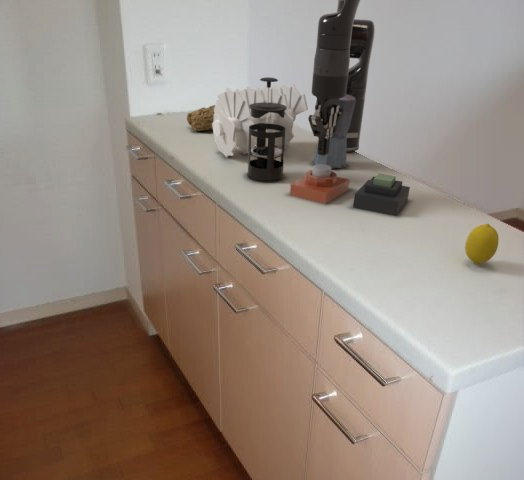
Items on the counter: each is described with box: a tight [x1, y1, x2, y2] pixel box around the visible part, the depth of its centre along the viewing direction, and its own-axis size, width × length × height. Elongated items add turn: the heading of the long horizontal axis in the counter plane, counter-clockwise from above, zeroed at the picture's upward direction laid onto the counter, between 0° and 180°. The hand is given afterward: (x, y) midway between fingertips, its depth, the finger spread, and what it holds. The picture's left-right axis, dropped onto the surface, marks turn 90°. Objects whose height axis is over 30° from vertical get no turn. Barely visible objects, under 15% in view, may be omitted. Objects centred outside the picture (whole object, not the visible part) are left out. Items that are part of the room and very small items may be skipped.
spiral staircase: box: [212, 83, 309, 159], centre depth 154 cm, size 18×18×25 cm
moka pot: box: [313, 94, 356, 169], centre depth 145 cm, size 10×15×20 cm, turn 161°
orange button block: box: [289, 169, 350, 205], centre depth 131 cm, size 12×10×4 cm
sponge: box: [186, 104, 216, 132], centre depth 178 cm, size 13×8×20 cm
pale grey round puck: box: [311, 164, 332, 178], centre depth 130 cm, size 4×4×2 cm
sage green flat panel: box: [373, 173, 397, 188], centre depth 125 cm, size 4×4×2 cm
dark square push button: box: [352, 176, 411, 217], centre depth 126 cm, size 11×10×5 cm
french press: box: [246, 76, 287, 184], centre depth 135 cm, size 12×9×23 cm
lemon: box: [464, 223, 499, 265], centre depth 101 cm, size 6×6×8 cm
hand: (322, 154), depth 128 cm, fingers closed
